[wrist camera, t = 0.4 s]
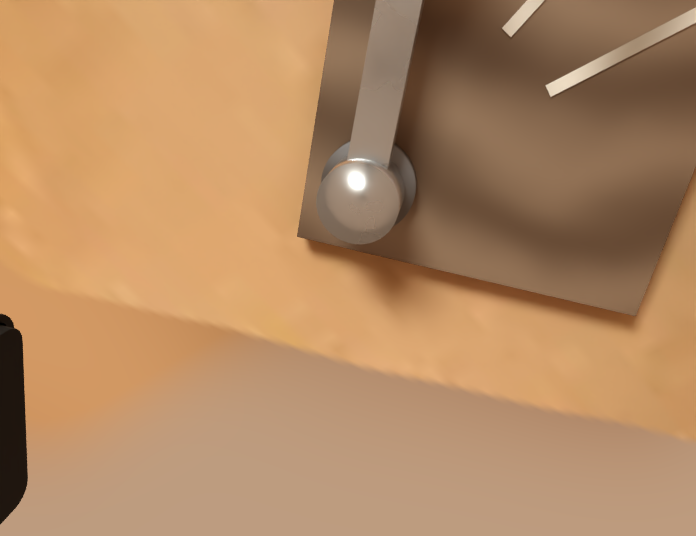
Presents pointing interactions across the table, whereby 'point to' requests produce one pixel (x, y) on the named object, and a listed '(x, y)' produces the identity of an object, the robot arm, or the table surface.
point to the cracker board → (527, 140)
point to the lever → (374, 133)
